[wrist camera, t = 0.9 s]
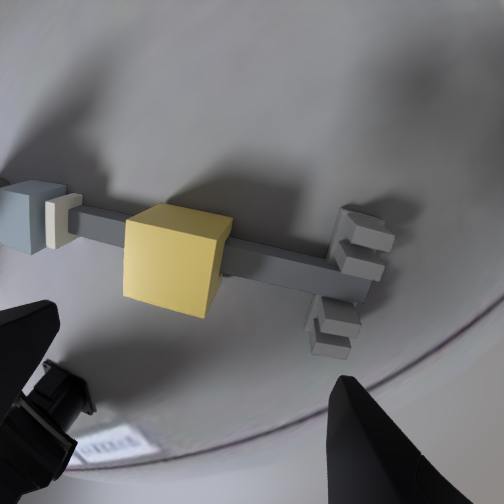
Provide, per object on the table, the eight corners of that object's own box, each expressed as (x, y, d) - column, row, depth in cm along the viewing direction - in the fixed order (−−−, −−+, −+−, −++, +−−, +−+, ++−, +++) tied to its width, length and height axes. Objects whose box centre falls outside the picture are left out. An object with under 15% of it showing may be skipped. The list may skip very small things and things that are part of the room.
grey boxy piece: (382, 219, 18) (401, 233, 15) (341, 332, 21) (348, 362, 18) (340, 207, 18) (352, 220, 15) (303, 325, 22) (306, 355, 18)
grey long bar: (372, 251, 19) (392, 277, 15) (351, 307, 21) (364, 342, 17) (30, 179, 20) (-5, 188, 16) (30, 226, 22) (-3, 241, 17)
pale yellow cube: (233, 218, 19) (216, 240, 15) (221, 281, 21) (204, 318, 16) (161, 202, 19) (126, 219, 15) (154, 265, 21) (123, 295, 16)
